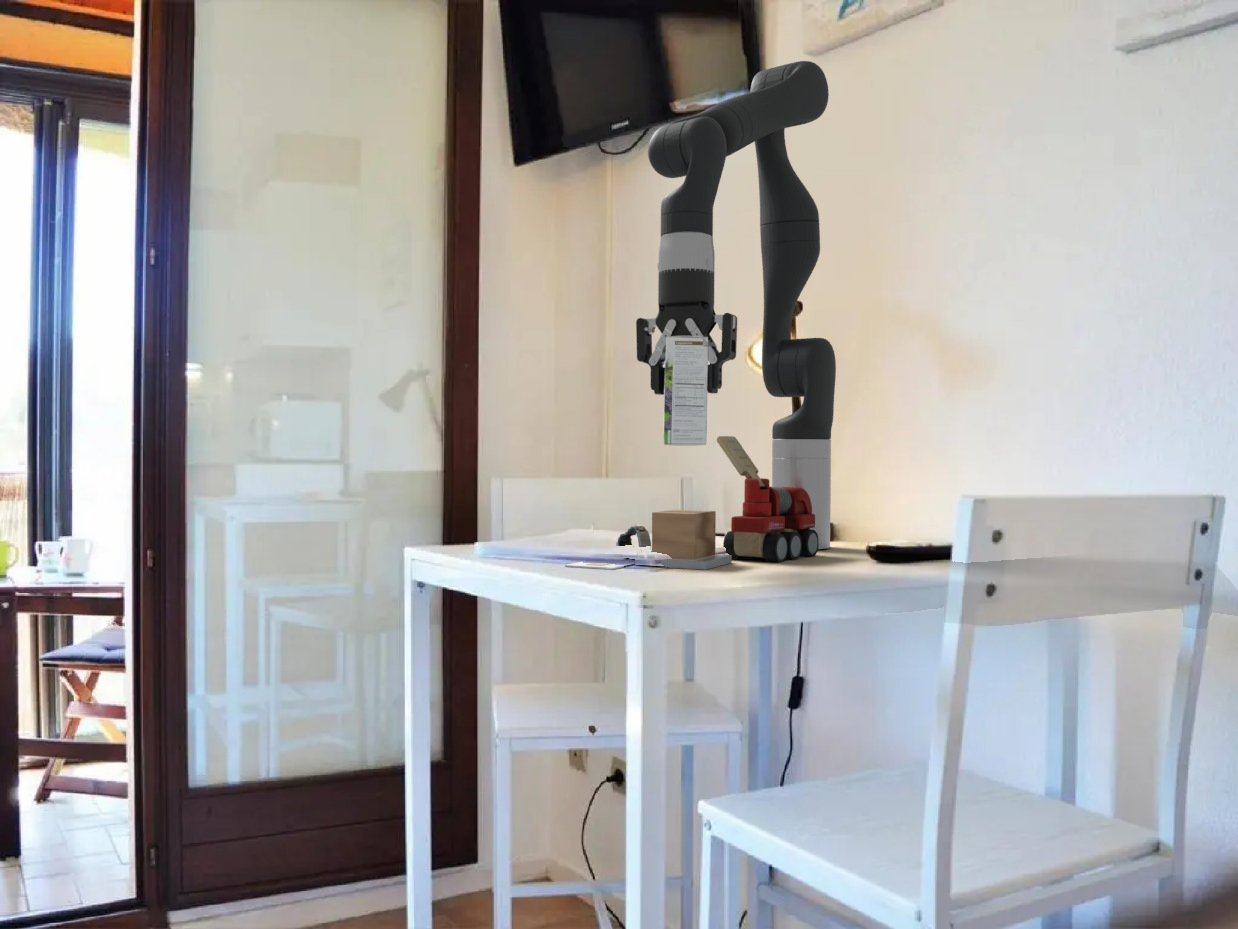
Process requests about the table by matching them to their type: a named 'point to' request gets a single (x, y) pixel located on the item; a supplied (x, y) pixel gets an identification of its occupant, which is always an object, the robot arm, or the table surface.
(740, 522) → the toy fire truck
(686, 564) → the plate
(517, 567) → the table surface
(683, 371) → the syrup box
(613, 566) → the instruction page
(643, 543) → the wristwatch
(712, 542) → the brick
